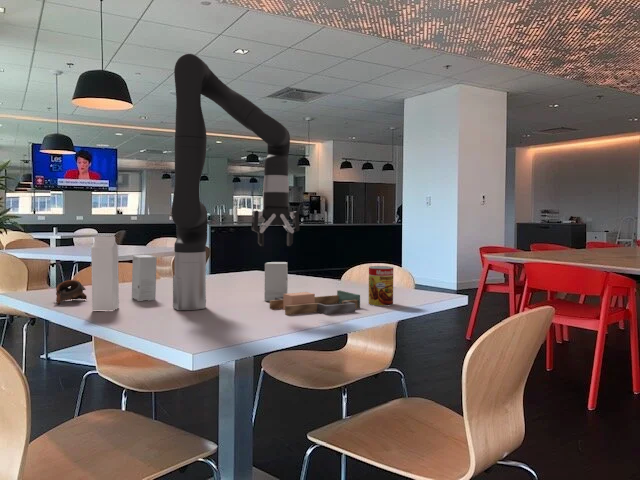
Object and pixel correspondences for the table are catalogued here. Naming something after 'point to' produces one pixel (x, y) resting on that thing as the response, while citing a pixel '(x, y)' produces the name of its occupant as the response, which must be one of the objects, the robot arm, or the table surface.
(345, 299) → the channel
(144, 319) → the table surface
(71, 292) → the brown dome piece
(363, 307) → the table surface
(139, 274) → the skincare box
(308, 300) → the block
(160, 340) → the table surface
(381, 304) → the canned food
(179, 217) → the robot arm
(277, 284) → the supplement box
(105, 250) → the milk
